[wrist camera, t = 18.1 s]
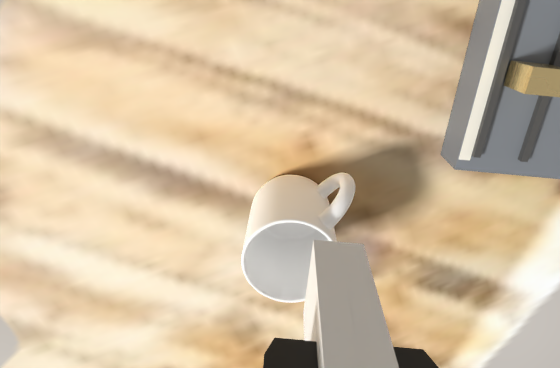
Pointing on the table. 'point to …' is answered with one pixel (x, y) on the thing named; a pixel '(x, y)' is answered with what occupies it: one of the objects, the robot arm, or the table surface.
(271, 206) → the mug
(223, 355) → the table surface
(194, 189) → the table surface
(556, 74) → the brass slider
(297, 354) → the robot arm
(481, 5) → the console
